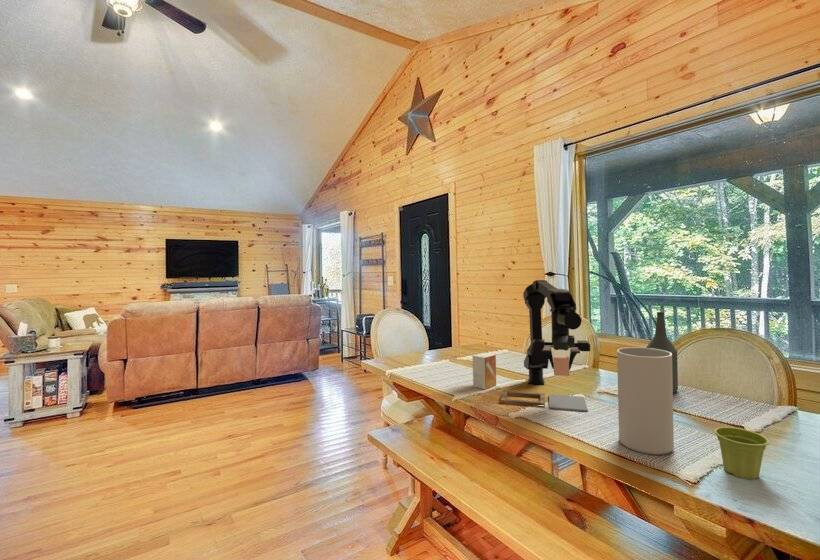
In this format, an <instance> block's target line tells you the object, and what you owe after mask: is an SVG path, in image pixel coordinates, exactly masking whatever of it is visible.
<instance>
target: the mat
mask: <svg viewBox="0 0 820 560" xmlns="http://www.w3.org/2000/svg"><path fill="white" fill-rule="evenodd" d="M548 403H549V405H548V406H549V408H554V409H553V410H558V409H562V410H561V411H573V412H583V413H584V412H585V413H588V412H589V409H588V407H587V403H586V399H585V396H578V395H576V396H575V395H565V394H564V395H563V394H548Z"/></svg>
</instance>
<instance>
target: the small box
mask: <svg viewBox="0 0 820 560" xmlns="http://www.w3.org/2000/svg"><path fill="white" fill-rule="evenodd" d="M496 358H497V357H496V354H494V353H488V352H481V353H478V354H474V355H472V386H473V388H477V387H478V388H477V389H481V388H482V390H487V388H488V389H489V387H490V388H492V386H493V387H495V386H494V385H496V386H497V359H496Z"/></svg>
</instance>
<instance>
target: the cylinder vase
mask: <svg viewBox="0 0 820 560" xmlns="http://www.w3.org/2000/svg"><path fill="white" fill-rule="evenodd" d="M616 353H617V354H616V355H617V356H616V358H617V359H616V360H617V366H616V367H617V401H618V405H617V407H618V409H617V412H618V440H619V441H620V443H621V444H622V445H624V447H626V448H628V449H630V450H633V451H635V452H638V453H641V454H647V455H666V454H669V453H672V452H673V450H674V449H675V446H674V445H675V444H674V443H675V442H674V437H675V436H674V435H675V433H674V393H673V378H672V353H670V352H668V351H664V350H659V349H652V348H646V347H620V348H618V349H617V350H616Z"/></svg>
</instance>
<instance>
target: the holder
mask: <svg viewBox="0 0 820 560" xmlns="http://www.w3.org/2000/svg"><path fill="white" fill-rule="evenodd" d="M509 396H510V397H511V396H512V397H523V398H524V397H525V398H537V399H540V400H539V401H535V400H523V399H511V398H508V397H509ZM500 404H505V405H518V406H529V407H530V406H531V407H534V406H533V405H544V406H545V407H546V394H545V393H540V392H539V393H538V392H525V391H524V392H523V391H511V390H509V391H508V390H503V392H502V394H501V398H500Z"/></svg>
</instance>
